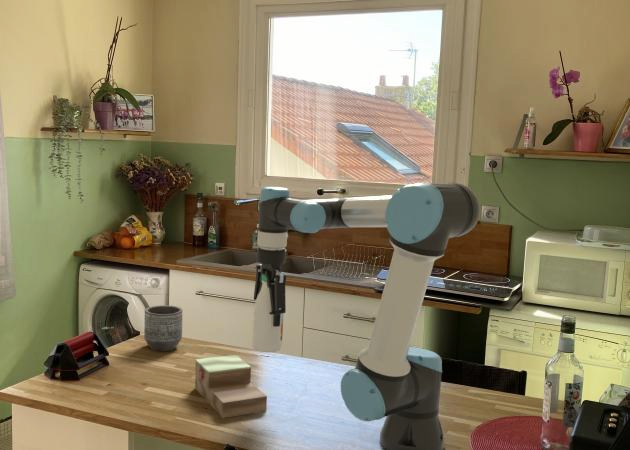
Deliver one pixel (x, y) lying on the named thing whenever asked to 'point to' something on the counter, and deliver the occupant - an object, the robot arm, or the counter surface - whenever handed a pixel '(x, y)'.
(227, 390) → the plinth
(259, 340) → the milk bottle
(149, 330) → the planter
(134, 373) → the counter surface
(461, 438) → the counter surface
